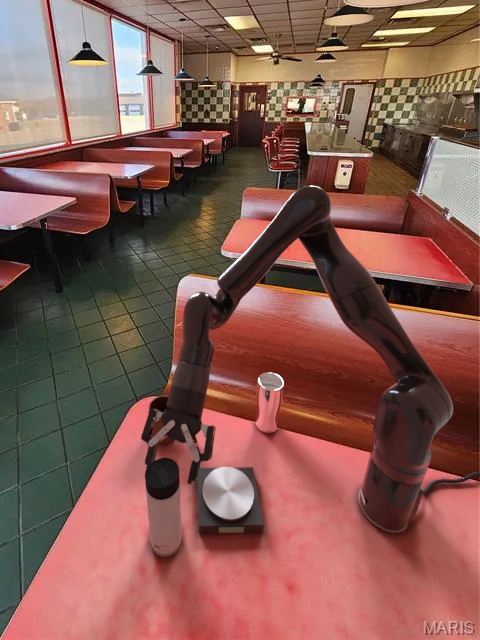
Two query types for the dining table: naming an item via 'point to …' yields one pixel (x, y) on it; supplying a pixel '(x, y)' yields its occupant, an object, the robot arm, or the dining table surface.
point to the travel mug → (164, 506)
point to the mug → (160, 405)
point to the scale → (215, 525)
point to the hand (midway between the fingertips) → (169, 475)
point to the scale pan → (228, 494)
